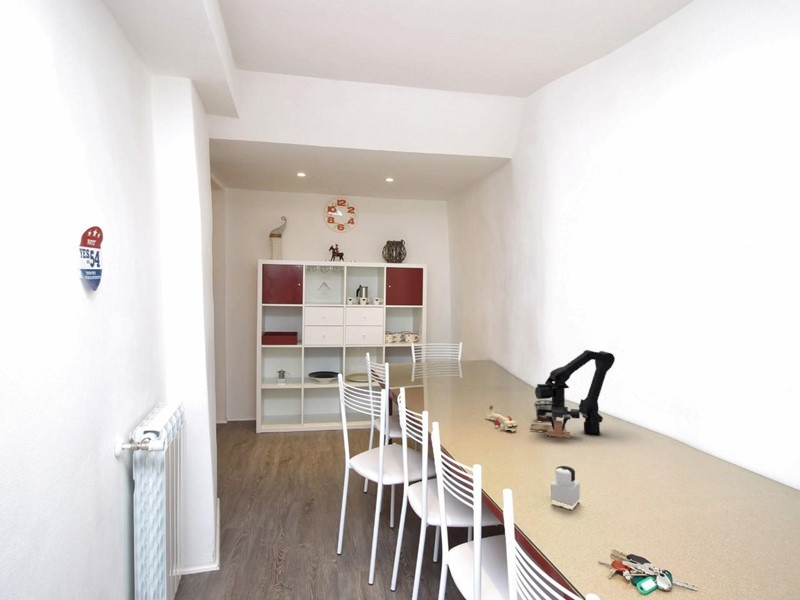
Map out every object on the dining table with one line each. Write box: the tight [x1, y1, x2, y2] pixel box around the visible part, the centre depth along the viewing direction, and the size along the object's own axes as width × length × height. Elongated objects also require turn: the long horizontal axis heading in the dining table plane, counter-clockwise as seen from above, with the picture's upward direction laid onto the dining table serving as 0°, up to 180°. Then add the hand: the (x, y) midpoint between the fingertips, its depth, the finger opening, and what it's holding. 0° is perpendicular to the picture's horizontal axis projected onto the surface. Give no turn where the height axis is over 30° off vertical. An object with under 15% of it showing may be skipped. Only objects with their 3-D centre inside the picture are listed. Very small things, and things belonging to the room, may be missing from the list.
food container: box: [533, 399, 558, 423], centre depth 245 cm, size 12×6×10 cm, turn 84°
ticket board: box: [529, 422, 567, 433], centre depth 229 cm, size 17×8×2 cm, turn 70°
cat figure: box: [485, 405, 519, 431], centre depth 238 cm, size 10×9×25 cm
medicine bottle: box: [550, 465, 581, 506], centre depth 156 cm, size 7×7×12 cm
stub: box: [546, 419, 571, 439], centre depth 221 cm, size 10×4×6 cm, turn 70°
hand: (558, 430), depth 221 cm, fingers closed on stub, 3 cm apart
